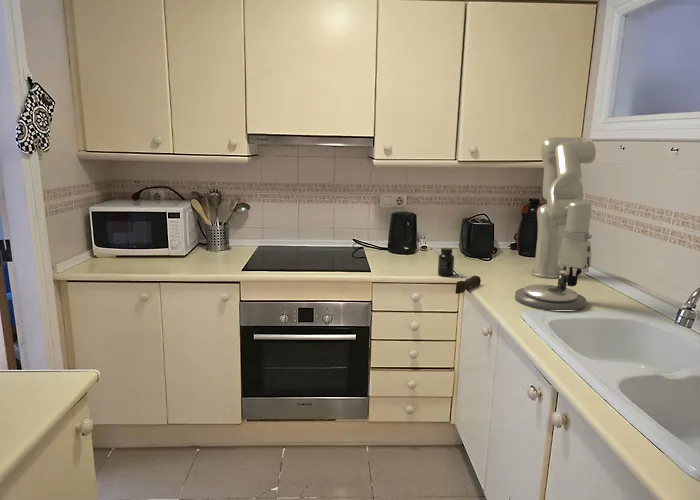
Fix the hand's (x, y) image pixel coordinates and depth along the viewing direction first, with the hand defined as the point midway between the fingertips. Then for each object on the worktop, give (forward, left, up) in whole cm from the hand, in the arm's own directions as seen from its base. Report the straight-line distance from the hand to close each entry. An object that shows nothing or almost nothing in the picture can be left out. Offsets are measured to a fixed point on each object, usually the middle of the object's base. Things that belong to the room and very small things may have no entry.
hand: (571, 285), depth 174 cm
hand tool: (+29, -23, -6) cm, 38 cm away
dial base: (+8, -1, -6) cm, 10 cm away
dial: (+8, -1, -4) cm, 9 cm away
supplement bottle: (+28, -45, -6) cm, 54 cm away
